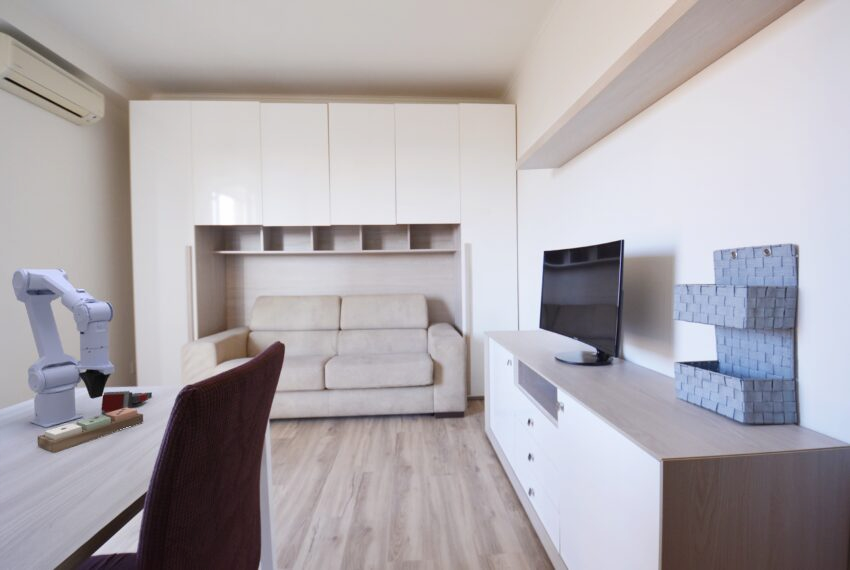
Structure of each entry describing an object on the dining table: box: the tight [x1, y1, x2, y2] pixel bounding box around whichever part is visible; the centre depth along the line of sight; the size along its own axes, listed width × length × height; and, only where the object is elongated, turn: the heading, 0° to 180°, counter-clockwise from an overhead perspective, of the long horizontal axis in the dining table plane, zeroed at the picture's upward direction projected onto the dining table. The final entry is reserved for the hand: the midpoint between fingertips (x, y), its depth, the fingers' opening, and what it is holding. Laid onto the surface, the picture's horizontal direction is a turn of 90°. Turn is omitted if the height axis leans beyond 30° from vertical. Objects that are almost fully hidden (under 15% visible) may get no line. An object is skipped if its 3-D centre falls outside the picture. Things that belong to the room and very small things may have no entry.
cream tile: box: [44, 422, 82, 441], centre depth 89 cm, size 5×5×4 cm
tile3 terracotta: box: [104, 407, 138, 422], centre depth 100 cm, size 5×5×4 cm
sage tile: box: [76, 414, 111, 431], centre depth 94 cm, size 5×5×4 cm
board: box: [37, 412, 144, 454], centre depth 94 cm, size 8×19×2 cm, turn 156°
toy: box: [100, 390, 153, 414], centre depth 115 cm, size 9×6×15 cm
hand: (96, 397), depth 97 cm, fingers closed
